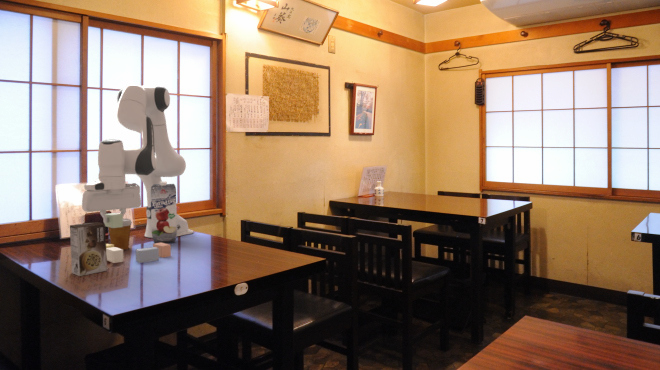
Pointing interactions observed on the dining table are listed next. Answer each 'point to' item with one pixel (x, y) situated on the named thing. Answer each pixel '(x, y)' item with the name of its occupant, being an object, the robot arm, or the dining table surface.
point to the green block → (114, 220)
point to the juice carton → (163, 212)
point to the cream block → (114, 254)
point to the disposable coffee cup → (121, 235)
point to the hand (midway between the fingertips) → (113, 221)
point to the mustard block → (109, 245)
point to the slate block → (147, 254)
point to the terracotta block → (163, 249)
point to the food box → (88, 248)
